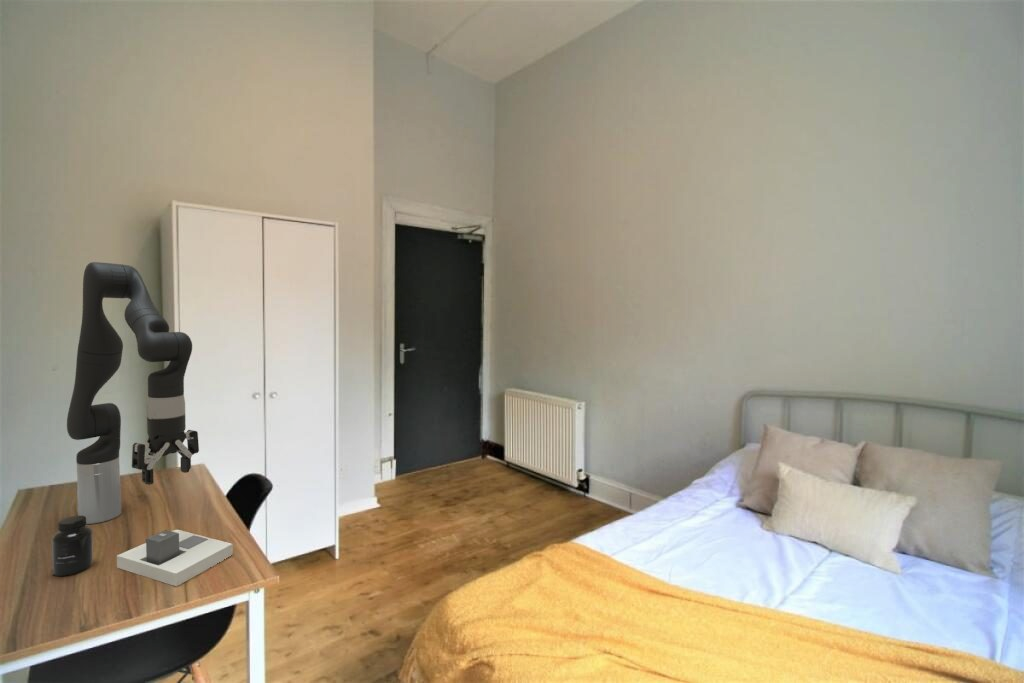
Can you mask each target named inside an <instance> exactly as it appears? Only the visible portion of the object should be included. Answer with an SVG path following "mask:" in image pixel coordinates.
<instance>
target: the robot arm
mask: <svg viewBox="0 0 1024 683" xmlns="http://www.w3.org/2000/svg"><path fill="white" fill-rule="evenodd" d="M104 299H129V300H130V301H129V302H128V304H127V305H126V306H125V307H126V308H125V309H124V315H123V316H124V320H125V323H126V325H128V328H130V329H131V331H132V332H133V334H134V336H135V339H136V342H137V343H136V344H137V353H138V356H139V357H140V358H141V359H142V360H144V361H146V362H149V363H160V362H168V365H167V366H166V367H165V368H162V369H160V370H157V371H156V370H155V371H153V372H151V373H149V375H148V377H147V402H146V403H147V404H146V425H147V426H146V429H147V431H146V432H147V437H148V439H147V441H146V442H140V443H139V442H134V443H133V444H132V450H131V451H132V453H131V454H132V455H131V468H132V469H137V470H139V471H140V470H141V481H142V482H143V483H144V484H145V485H148V486H149V485H153V484H154V468H153V467H154V466H155V464H156V463H157V462H158V461H160V459H161V457H165V456H168V455H170V454H176V453H177V454H178V455H180V456H181V457H180V472H182V473H184V474H187V473H189V472H190V469H191V468H192V467H191V466H192V463H191V462H192V459H191V458H192V457H193V455H195V454H198V453H199V451H200V447H199V446H200V445H199V433H198V431H196V430H192V429H187V431H186V427H187V426H186V400H185V393H184V392H185V375H186V371H187V368H188V364H189V361H190V360H191V359H190V358H191V356H192V352H193V341H192V340H191V338H190V336H189V335H188V334H187V333H185V332H182V331H170V326H169V323H168V321H166V319H165V317H164V316H163V315H162V314H161V313H160V312H159V310H158V309H157V308H156V306H155V304H154V302H153V300H152V298H151V295H150V293H149V290H148V288H147V286H146V284H145V282H144V280H143V277H142V275H141V274H140V273H139V271H138V270H137V269H136V267H134V266H133V265H128V264H119V263H111V262H98V261H92V262H89V263H88V264H87V265H86V267H85V268H84V271H83V278H82V315H81V316H82V317H81V326H80V333H79V340H78V345H77V351H76V352H77V353H76V361H75V362H76V363H75V364H76V365H75V366H76V367H75V377H74V384H73V390H72V394H71V399H70V404H69V408H68V413H67V418H66V429H67V430H66V431H67V434H68V436H69V437H70V438H71V439H72V440H75V441H80V440H87V439H92V438H98V439H97V440H95V441H94V443H92V444H90V445H89V446H87V447H85V448H82V449H81V450H79V451H78V452H77V453H76V455H75V456H76V459H75V460H76V461H75V462H76V478H77V486H76V496H77V497H76V498H77V499H76V500H77V516H80V515H81V516H85V517H86V522H87V524H86V525H91V524H93V525H94V524H98V523H103V522H108V521H110V520H113V519H115V518H118V517H119V516H120V515H121V514H122V496H121V495H122V494H121V493H122V492H121V470H120V469H121V468H120V467H121V466H120V450H121V449H120V448H121V431H122V428H121V427H122V426H121V425H122V419H121V418H122V417H121V412H120V409H119V407H118V406H117V405H116V404H114V403H112V402H108V403H107V402H106V403H98V404H93V401H94V400H95V397H96V395H97V394H98V393H99V391H100V390H101V389H102V388H103V387H104V386H105V385H106V384H107V383H108V381H109V380H110V379H111V378H112V377H113V376H114V375H115V374H116V372H118V370H119V369H120V367H121V363H122V356H123V352H124V342H123V340H122V338H121V336H120V335H119V333H118V332H117V330H116V329H115V328H114V327H113V325H112V324H111V323H110V321H109V320H108V317H107V316H106V314H105V311H104V307H103V300H104ZM185 431H186V432H185ZM185 440H186V443H187V446H185V445H184V442H185ZM147 449H148V450H147Z"/></svg>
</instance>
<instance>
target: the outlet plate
mask: <svg viewBox="0 0 1024 683" xmlns="http://www.w3.org/2000/svg"><path fill="white" fill-rule="evenodd" d="M171 531H172V532H176V533H179V554H180V555H179V556H177V557H175V558H173V559H171V560H169V561H167V562H165V563H163V564H161V565H159V566H158V565H155V564H152V563H148V562H147V555H146V542H145V543H142V544H140V545H138V546H136V547H134V548H131V549H129V550H126V551H124V552H122V553H119V554H117V555H116V568H117V569H121V570H124V571H127V572H130V573H133V574H136V575H139V576H142V577H145V578H147V579H148V578H149V579H152V580H155V581H158V582H162V583H165V584H167V585H171V586H174V587H179V586H180V585H182V584H183V583H186V582H188V581H189V580H191V579H192V578H194V577H196V576H198V575H200V574H202V573H203V572H205V571H207V570H209V569H211V568H213V567H214V566H216V565H218V564H220V563H221V562H223V561H225V560H227V559H228V558H227V557H229V556H231V555H232V556H233V553H234V552H233V551H234V550H233V543H230V542H227V541H223V540H220V539H215V538H211V537H207V536H204V535H199V534H196V533H191V532H188V531H184V530H181V529H175V530H171ZM232 556H231V557H232ZM226 558H227V559H226ZM229 558H230V557H229ZM224 559H225V560H224ZM219 562H220V563H219ZM217 563H218V564H217ZM210 567H211V568H210Z"/></svg>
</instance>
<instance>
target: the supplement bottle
mask: <svg viewBox="0 0 1024 683" xmlns="http://www.w3.org/2000/svg"><path fill="white" fill-rule="evenodd" d="M87 525H88V524H87V522H86V517H85V516H81V515H80V516H78V515H73V516H69V517H65V518H63V519H61V520H59V521H58V522H57V532H56V533H55V534H54V535H53V537H52V540H51V545H52V547H51V548H52V551H51V552H52V573H53V575H55V576H56V577H57V576H58V577H66V576H72V575H76V574H79V573H81V572H84V571H85V570H87V569H89V568H90V567H91V566H92V565H93V530H92V528H91V527H89V526H87Z"/></svg>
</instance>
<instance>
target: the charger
mask: <svg viewBox="0 0 1024 683" xmlns="http://www.w3.org/2000/svg"><path fill="white" fill-rule="evenodd" d="M172 531H173V530H167V529H165V530H162V531H160V532H157V533H155V534H153V535H151V536H148V537H146V538H145V543H146V555H147V562H148V563H152V564H155V565H158V566H159V565H161V564H163V563H165V562H167V561H169V560H171V559H173V558H175V557H177V556H179V555H180V554H179V533H176V532H172Z"/></svg>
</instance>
